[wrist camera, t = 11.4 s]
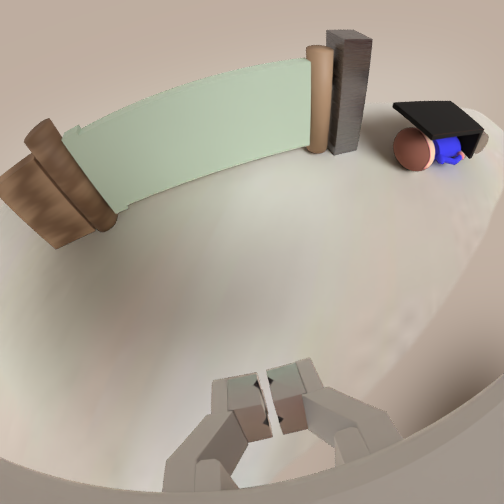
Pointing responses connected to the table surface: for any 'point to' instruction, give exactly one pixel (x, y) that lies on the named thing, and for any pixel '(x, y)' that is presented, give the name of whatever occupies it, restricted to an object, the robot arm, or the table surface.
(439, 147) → the figurine character
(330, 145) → the latch post
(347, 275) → the table surface
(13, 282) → the table surface
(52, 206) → the wooden hinge block
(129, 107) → the gate
